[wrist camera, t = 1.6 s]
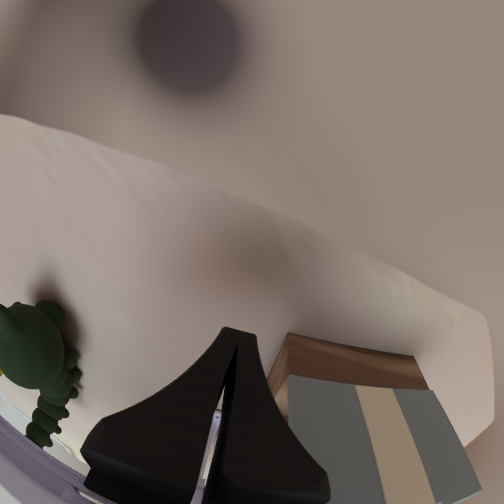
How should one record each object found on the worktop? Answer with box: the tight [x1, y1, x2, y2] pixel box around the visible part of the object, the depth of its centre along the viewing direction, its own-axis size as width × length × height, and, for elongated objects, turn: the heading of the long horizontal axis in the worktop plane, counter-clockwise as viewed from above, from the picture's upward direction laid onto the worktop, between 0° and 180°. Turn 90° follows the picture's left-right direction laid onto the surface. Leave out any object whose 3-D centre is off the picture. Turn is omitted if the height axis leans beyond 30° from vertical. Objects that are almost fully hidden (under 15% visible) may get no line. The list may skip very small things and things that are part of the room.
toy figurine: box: [0, 300, 81, 449], centre depth 20 cm, size 9×19×25 cm
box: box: [267, 333, 429, 424], centre depth 23 cm, size 12×14×5 cm
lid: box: [287, 374, 482, 504], centre depth 12 cm, size 12×14×1 cm
